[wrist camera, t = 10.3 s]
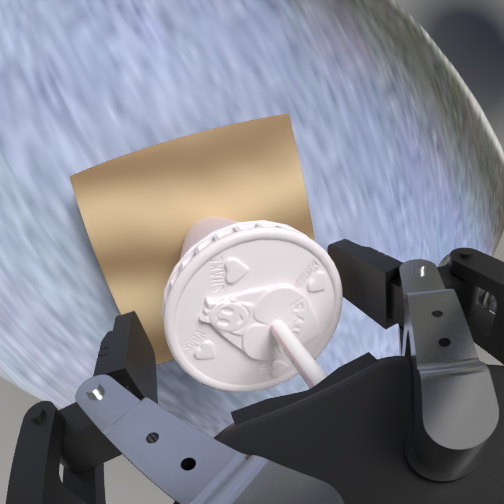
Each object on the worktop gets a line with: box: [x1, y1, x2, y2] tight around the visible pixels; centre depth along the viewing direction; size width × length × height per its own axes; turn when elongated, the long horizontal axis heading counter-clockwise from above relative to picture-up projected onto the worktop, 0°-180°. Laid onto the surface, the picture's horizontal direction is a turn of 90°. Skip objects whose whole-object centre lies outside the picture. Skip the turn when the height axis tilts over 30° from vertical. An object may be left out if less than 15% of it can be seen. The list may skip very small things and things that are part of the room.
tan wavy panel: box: [70, 114, 315, 365], centre depth 20 cm, size 14×14×3 cm
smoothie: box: [161, 217, 343, 392], centre depth 12 cm, size 6×6×14 cm
